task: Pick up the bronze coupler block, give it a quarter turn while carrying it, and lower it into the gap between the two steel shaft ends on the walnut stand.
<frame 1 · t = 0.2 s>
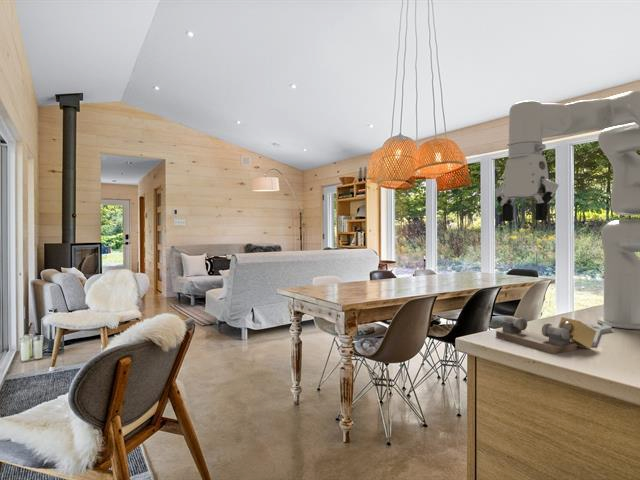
hand: (523, 220, 101), 30 cm above the worktop, tool pointing down, fingers open, 9 cm apart
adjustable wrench: (591, 337, 108), on the worktop
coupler: (584, 337, 98), point 2 cm above the worktop, tilted 64°, touching shaft stand
shaft stand: (534, 342, 100), on the worktop
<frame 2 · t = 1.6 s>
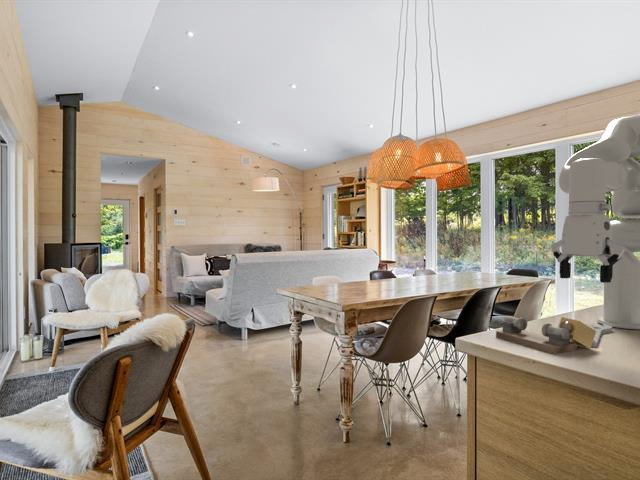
hand: (584, 280, 98), 16 cm above the worktop, tool pointing down, fingers open, 9 cm apart
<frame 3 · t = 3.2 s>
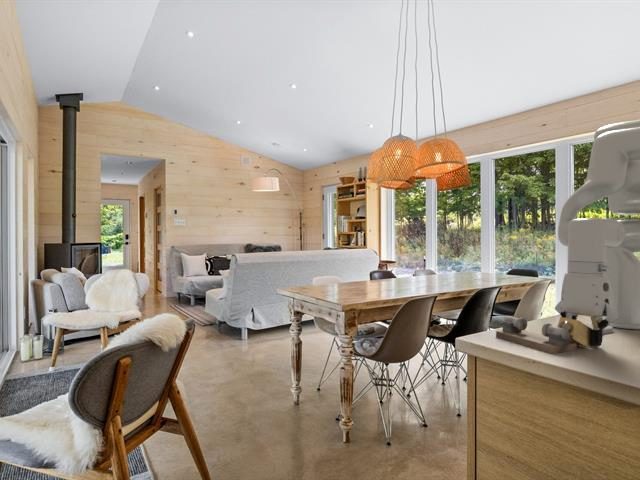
hand: (583, 341, 99), 1 cm above the worktop, tool pointing down, fingers open, 4 cm apart
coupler: (582, 337, 98), point 2 cm above the worktop, tilted 63°, touching gripper
everything else where it was.
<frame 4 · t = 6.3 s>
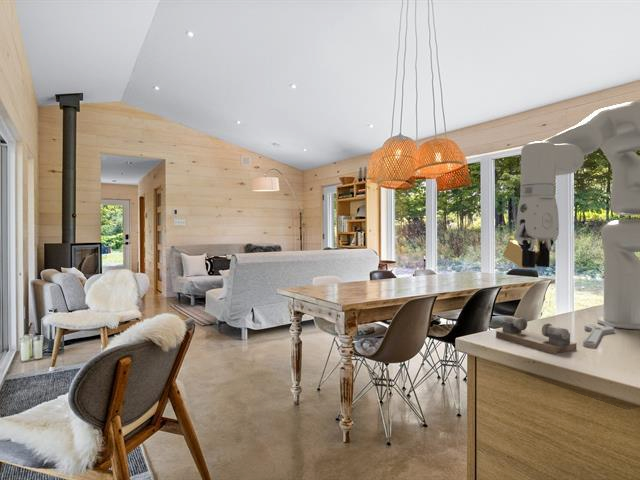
hand: (535, 266, 100), 19 cm above the worktop, tool pointing down, fingers closed on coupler, 4 cm apart
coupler: (531, 260, 101), point 21 cm above the worktop, tilted 63°, touching gripper
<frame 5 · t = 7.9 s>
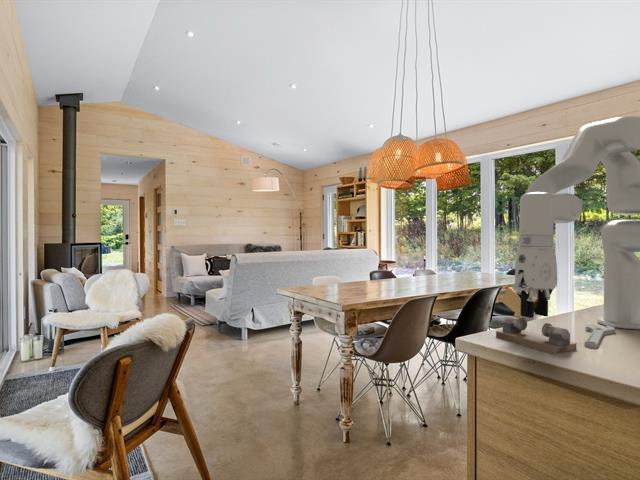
hand: (534, 315, 100), 7 cm above the worktop, tool pointing down, fingers closed on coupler, 4 cm apart
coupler: (530, 309, 101), point 8 cm above the worktop, tilted 63°, touching gripper
when the fingers open (4 cm above the worktop, at t = 9.0 s): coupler drops 5 cm, resting on shaft stand.
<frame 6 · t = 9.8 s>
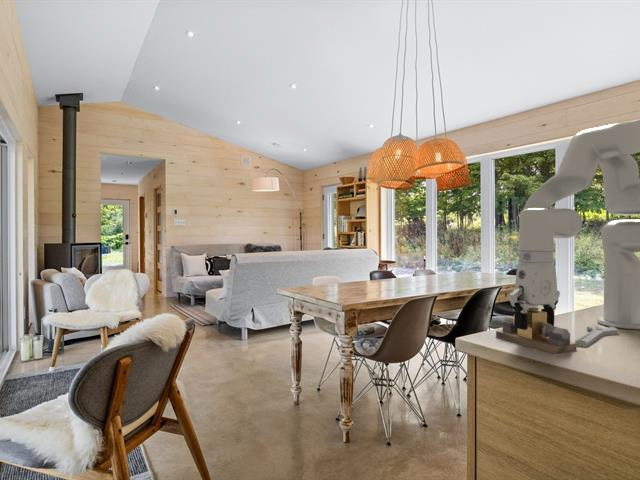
hand: (534, 326, 100), 4 cm above the worktop, tool pointing down, fingers open, 9 cm apart
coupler: (531, 337, 100), point 1 cm above the worktop, touching shaft stand
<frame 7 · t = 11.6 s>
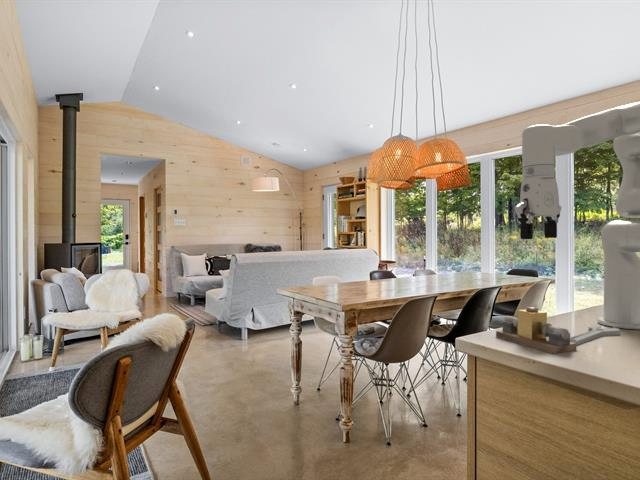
hand: (538, 238, 107), 26 cm above the worktop, tool pointing down, fingers open, 9 cm apart
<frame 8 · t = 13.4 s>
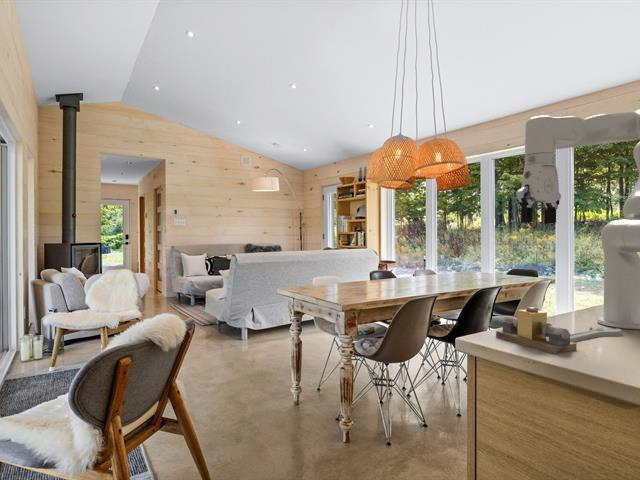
hand: (538, 222, 113), 30 cm above the worktop, tool pointing down, fingers open, 9 cm apart
at the end: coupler 0.9 cm off-centre on the shaft stand, point 1.5 cm above the shaft stand's base; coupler tilted 0°; the gripper is holding nothing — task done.
